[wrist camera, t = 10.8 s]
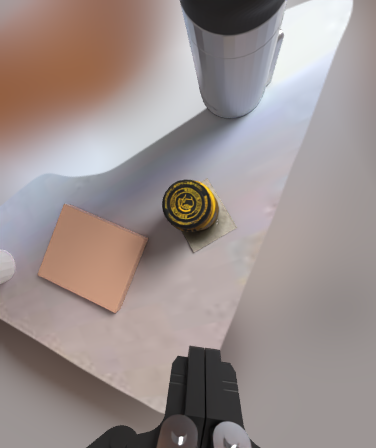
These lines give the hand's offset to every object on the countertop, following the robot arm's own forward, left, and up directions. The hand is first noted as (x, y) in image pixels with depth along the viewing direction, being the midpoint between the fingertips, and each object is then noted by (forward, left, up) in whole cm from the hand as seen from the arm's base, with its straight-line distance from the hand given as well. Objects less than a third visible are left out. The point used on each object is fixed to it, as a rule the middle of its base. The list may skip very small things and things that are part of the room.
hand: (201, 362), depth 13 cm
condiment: (-3, -8, -27) cm, 28 cm away
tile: (+11, -7, -26) cm, 29 cm away
